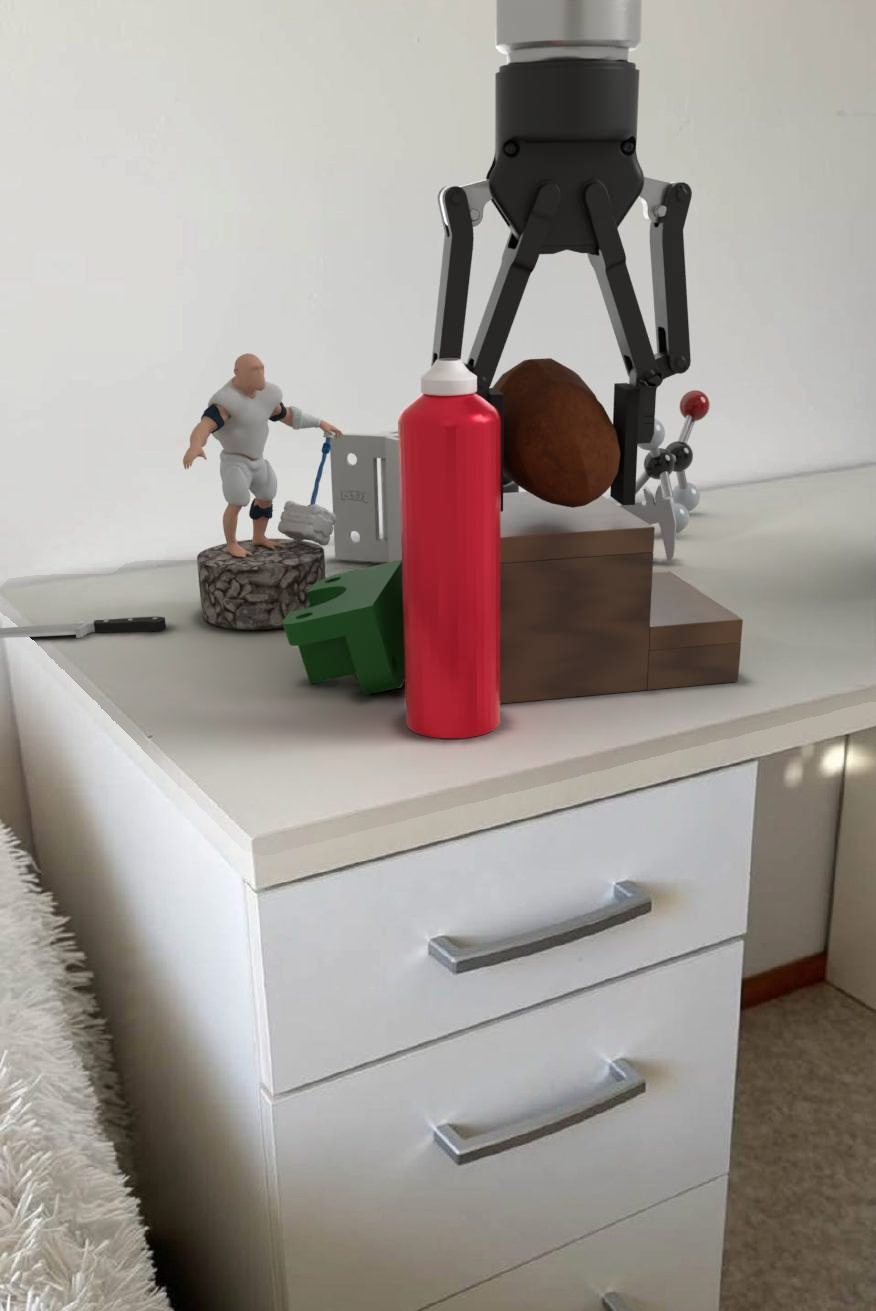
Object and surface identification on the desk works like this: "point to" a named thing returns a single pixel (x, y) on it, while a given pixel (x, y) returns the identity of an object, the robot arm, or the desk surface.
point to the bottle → (451, 554)
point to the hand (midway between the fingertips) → (557, 502)
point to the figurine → (258, 508)
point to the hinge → (366, 496)
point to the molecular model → (675, 459)
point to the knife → (87, 627)
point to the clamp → (353, 628)
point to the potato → (556, 434)
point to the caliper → (657, 516)
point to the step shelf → (600, 608)
